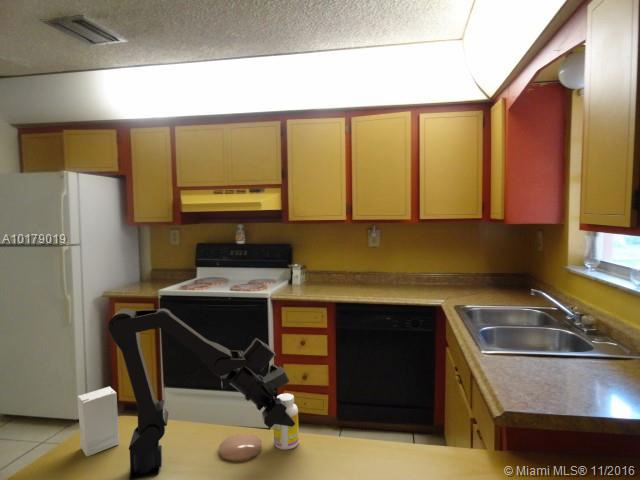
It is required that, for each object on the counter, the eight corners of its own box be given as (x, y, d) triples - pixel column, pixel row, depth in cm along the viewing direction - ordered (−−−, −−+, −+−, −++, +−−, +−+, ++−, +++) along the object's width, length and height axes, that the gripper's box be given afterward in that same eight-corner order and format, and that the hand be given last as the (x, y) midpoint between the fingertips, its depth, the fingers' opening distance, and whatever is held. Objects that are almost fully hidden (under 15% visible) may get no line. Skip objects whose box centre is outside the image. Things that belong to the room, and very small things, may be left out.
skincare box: (112, 437, 111) (111, 385, 111) (119, 445, 107) (118, 391, 106) (78, 449, 105) (76, 394, 105) (84, 458, 101) (82, 401, 101)
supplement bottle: (300, 437, 109) (299, 392, 109) (296, 451, 103) (295, 402, 102) (276, 436, 110) (275, 391, 110) (271, 450, 103) (270, 401, 103)
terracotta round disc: (220, 465, 97) (220, 460, 97) (218, 442, 108) (217, 437, 108) (264, 456, 101) (264, 451, 101) (258, 435, 111) (258, 430, 111)
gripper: (277, 372, 96) (321, 409, 99) (264, 349, 113) (301, 382, 117) (245, 409, 93) (291, 446, 97) (237, 380, 111) (276, 412, 115)
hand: (290, 418), depth 107 cm, fingers closed on supplement bottle, 7 cm apart
